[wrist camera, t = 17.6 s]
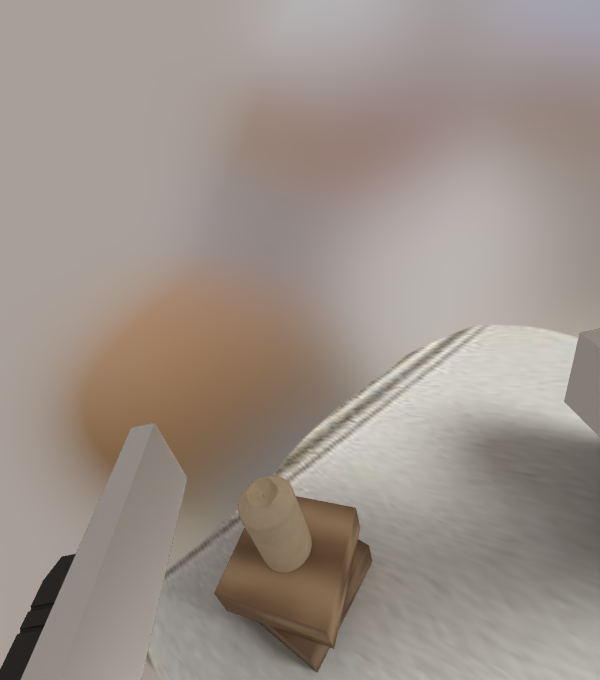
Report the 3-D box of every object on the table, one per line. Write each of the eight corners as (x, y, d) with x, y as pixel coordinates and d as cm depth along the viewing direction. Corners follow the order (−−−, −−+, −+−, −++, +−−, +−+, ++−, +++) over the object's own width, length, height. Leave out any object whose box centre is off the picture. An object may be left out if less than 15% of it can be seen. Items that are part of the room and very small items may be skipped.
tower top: (270, 508, 49) (262, 489, 46) (360, 527, 44) (355, 507, 42) (226, 610, 39) (214, 593, 37) (334, 648, 35) (326, 631, 33)
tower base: (294, 517, 51) (287, 500, 49) (372, 563, 44) (368, 545, 42) (235, 602, 44) (224, 586, 42) (318, 673, 37) (310, 659, 35)
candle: (255, 568, 39) (223, 515, 33) (272, 517, 43) (246, 463, 37) (304, 579, 37) (279, 525, 31) (317, 525, 41) (297, 469, 35)
